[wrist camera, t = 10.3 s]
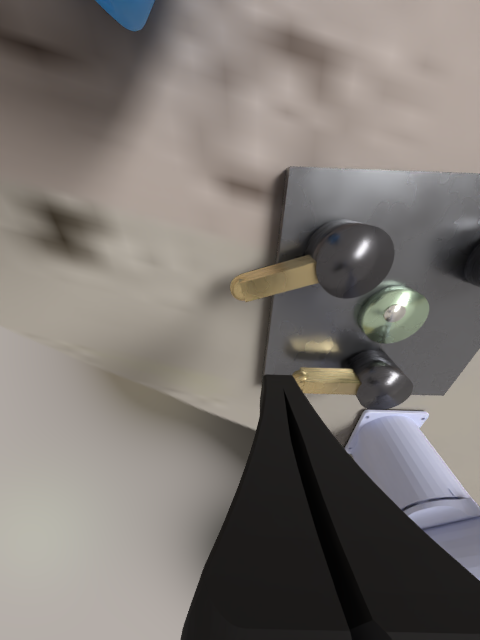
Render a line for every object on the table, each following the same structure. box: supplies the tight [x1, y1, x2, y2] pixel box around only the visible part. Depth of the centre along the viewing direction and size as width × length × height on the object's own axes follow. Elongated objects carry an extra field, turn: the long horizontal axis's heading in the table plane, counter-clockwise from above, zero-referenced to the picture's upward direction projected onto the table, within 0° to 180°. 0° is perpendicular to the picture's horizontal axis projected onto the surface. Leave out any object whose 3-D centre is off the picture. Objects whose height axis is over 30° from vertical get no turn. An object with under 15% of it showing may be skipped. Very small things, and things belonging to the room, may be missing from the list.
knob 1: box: [230, 219, 395, 302], centre depth 15 cm, size 10×4×3 cm, turn 107°
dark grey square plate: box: [262, 167, 480, 396], centre depth 18 cm, size 20×20×2 cm
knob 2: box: [292, 350, 413, 410], centre depth 20 cm, size 10×4×3 cm, turn 88°
